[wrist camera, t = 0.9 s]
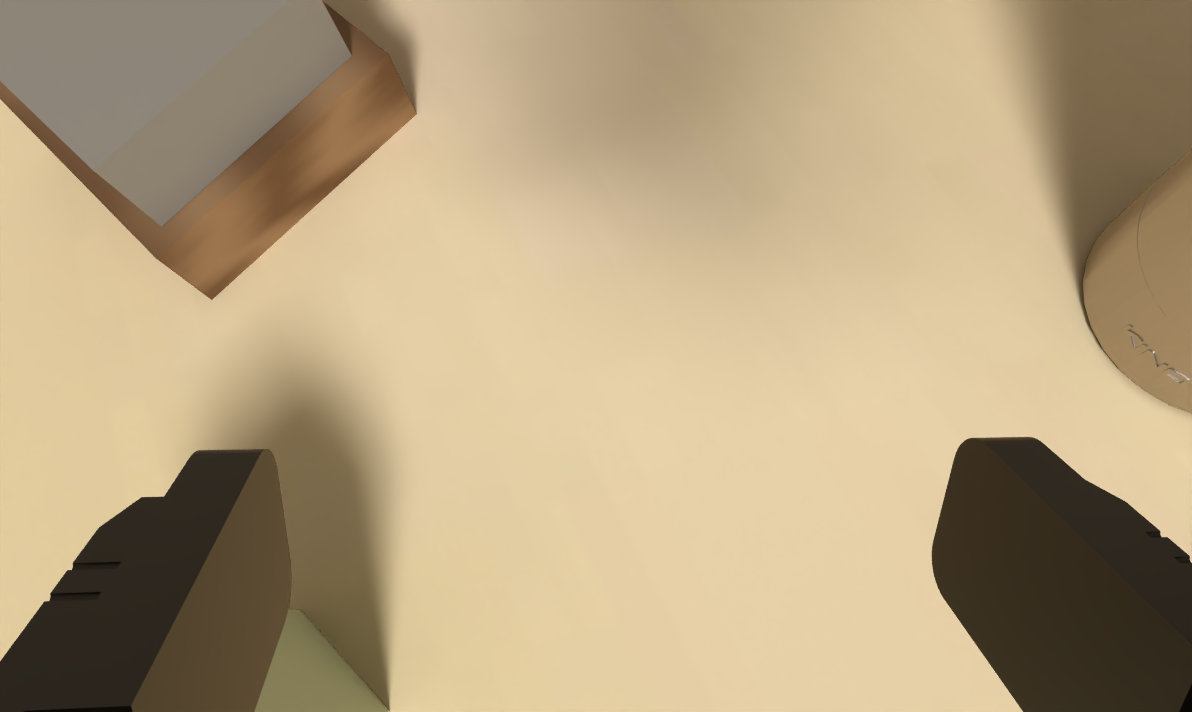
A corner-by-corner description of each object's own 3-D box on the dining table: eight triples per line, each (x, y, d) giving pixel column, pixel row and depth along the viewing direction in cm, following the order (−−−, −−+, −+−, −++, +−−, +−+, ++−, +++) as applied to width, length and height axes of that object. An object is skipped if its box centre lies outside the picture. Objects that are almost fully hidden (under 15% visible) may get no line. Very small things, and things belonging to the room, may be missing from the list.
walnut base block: (256, -14, 41) (209, -90, 37) (419, 119, 38) (388, 53, 33) (62, 147, 39) (-12, 86, 34) (217, 303, 35) (156, 258, 31)
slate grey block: (201, -62, 36) (146, -144, 32) (352, 56, 33) (311, -19, 30) (18, 89, 34) (-63, 20, 30) (161, 226, 31) (92, 170, 28)
